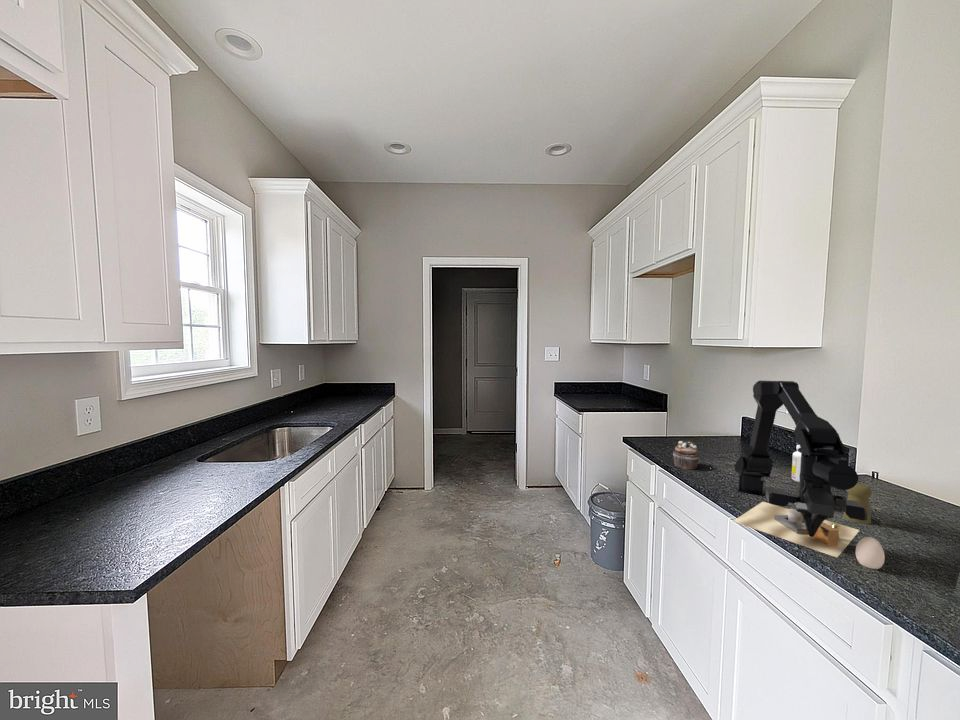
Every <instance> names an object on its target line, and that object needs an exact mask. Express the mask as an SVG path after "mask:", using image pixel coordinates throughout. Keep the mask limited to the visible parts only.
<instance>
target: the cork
mask: <svg viewBox="0 0 960 720" xmlns="http://www.w3.org/2000/svg"><path fill="white" fill-rule="evenodd" d="M845 491H846V493H847V498H846V500H852V501H857V502H858V503H859V504H860V505H861V506H863V507H864V508H865V509H866V510H867V520H866V521H864V520H858V519H852V518H849V517H848V516H847V515H846V514H845V512H842V518H844V519H846V520H847V521H850V522H853V523H856V524H863V525H871V524H872V518H871V509H870V507H871V506H870V502H869V501H870V500H869V499H870V498H871V496H872V494H873V492H872V489H871V488H870V486H868V485H866V484H862V483H858V482H857V484H856V485H855V486H854V487H853V488H851V489H848V490H845Z"/></svg>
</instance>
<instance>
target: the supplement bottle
mask: <svg viewBox="0 0 960 720" xmlns="http://www.w3.org/2000/svg"><path fill="white" fill-rule="evenodd" d="M799 448H801V447H800V445H799V444H796V448H795V449H796V451H794V452H793V453H792V456H791V457H792V458H791V459H792V462H791V479H792V480H793V481H794V482H797V483H800V478H799V477H800V467H801V453H800V452H798V449H799Z"/></svg>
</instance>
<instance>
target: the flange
mask: <svg viewBox="0 0 960 720" xmlns="http://www.w3.org/2000/svg"><path fill="white" fill-rule="evenodd" d="M774 520H776V521H778V522H779V523H781V524H782V525H784V526H785V527H787V528H789V529H790V530H792V531H793V532H795V533H797V534H808V531H807V528H806V526H797V525H795V524H793V523H792V522H790V521H788V515H774ZM802 523H804V524H805V522H804V520H803V517H802ZM838 533H839V530H837V529H835V528H833V527H831V526H830V525H828V524H826V523H824V522H822V524H821V525H820V526H819V528H818V530H817V532H816V533H815V535H814V538H815V539H817V540H819V541H820V542H822V543H823V544H825V545H827V546H838Z"/></svg>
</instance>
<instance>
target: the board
mask: <svg viewBox="0 0 960 720" xmlns="http://www.w3.org/2000/svg"><path fill="white" fill-rule="evenodd" d="M774 515H788V521H790V522H792V523H793V524H795V525H797V526H806V525H805V524H804V523H802V515H801V512H798V511H796V509H795V508H786V507H784V506H778V505H772V504H770V503H768V502H766V501H761V502H760V503H758V504H756V505H754V507H752V508H751V509H749V510H748V511H746V512H744V513H743V514H741V515H740V516H738V517H737V518H736V519H733V520H732V522H734V523H736V524H740V525H742V526H745V527H748V528H751V529H754V530H756V531H760V532H763V533H764V534H768V535H771V536H774V537H777V538H779V539H783V540H786V541H788V542H790V543H794V544H797V545H799V546H803V547H804V548H805V547H806V548H808V549H811V550H813V551H817V552H820V553H822V554H826V555H827V556H832V557H834V558H839V557H840V555H841V554H842V553H843V552H844V550H845V549H846V548H847V546H849V544H850V543H851V542H852V541H853V539H854V538H855V537H856V535H858V533H859V532H860V529H857V528H854V527H851V526H847V525H843V524H840V523H837V522H834V521H830V520H828V519H825V520H824V521H823V522H824V523H826V524H828V525H830V526H831V524H832V523H834V524H838V525H839V526H840V528H839V540H838V546H827V545H825V544H823V543H822V542H820V541H819V540H817V539H815V538H814V537H810V536H809V534H797V533H795V532H793V531H792V530H790V529H789V528H787V527H785V526H784V525H782V524H781V523H779V522H778V521H776V520H774Z"/></svg>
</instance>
